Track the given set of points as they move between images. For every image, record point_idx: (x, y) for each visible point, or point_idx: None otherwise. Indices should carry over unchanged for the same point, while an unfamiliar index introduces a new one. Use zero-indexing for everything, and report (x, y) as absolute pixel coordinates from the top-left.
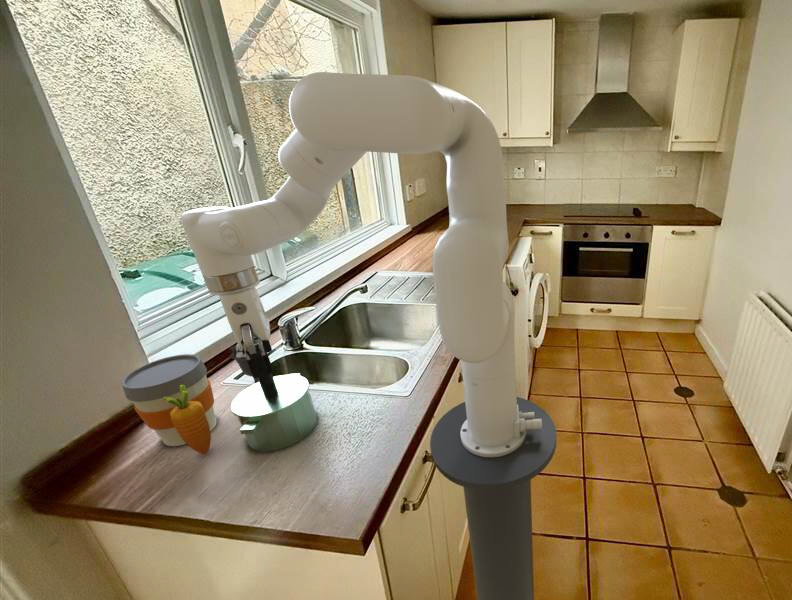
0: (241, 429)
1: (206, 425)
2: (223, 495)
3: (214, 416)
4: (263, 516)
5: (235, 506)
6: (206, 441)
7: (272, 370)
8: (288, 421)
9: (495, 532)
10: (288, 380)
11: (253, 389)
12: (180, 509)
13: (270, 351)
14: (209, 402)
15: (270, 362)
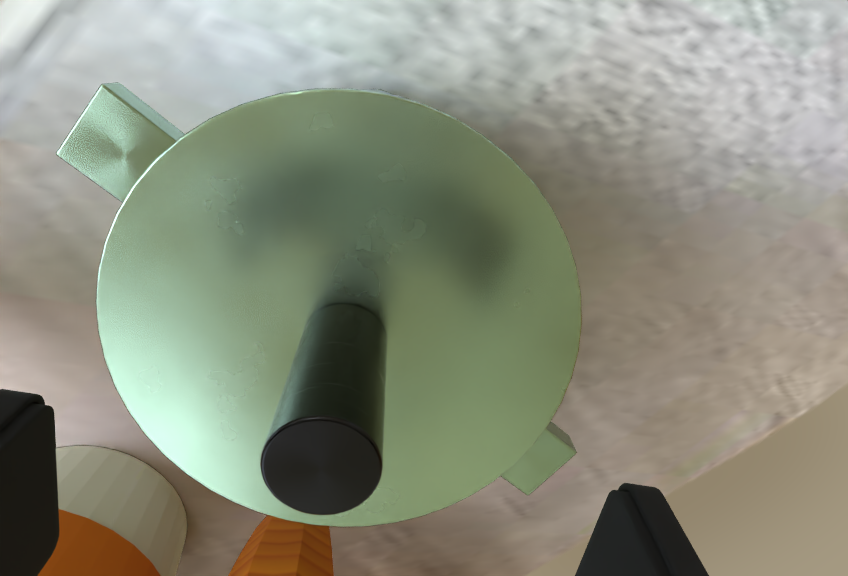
0: (531, 489)
1: (309, 567)
2: (582, 469)
3: (86, 468)
4: (781, 397)
5: (663, 449)
6: (325, 526)
7: (663, 504)
8: None
9: None
10: (235, 208)
11: (198, 411)
12: (538, 554)
13: (52, 409)
14: (76, 542)
15: (680, 573)
